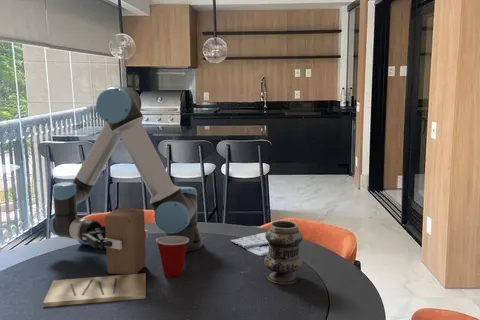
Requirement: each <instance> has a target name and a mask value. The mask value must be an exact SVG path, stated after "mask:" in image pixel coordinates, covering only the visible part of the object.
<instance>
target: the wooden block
mask: <svg viewBox="0 0 480 320" xmlns="http://www.w3.org/2000/svg"><path fill="white" fill-rule="evenodd" d="M104 226H105V231H106V238H110V239H115V240H120V241H122V249H121V250H119V249H114V248H110V247H106V248H105V249H106V268H107V269H106V270H107V271H106V272H107V273H108V274H111V275H131V274H139V272H140V271H141V270H142V269H143V268H145V266H146V263H147V262H146V261H147V260H146V258H147V256H146V255H147V254H146V239H145V230H146V229H145V226H146V225H145V210H144V209H142V208H127V207H126V208H125V207H124V208H123V207H118V208H116V209H114V210H112V211H111V212H108V213H107V214H105V216H104Z"/></svg>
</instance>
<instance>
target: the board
mask: <svg viewBox="0 0 480 320" xmlns="http://www.w3.org/2000/svg"><path fill="white" fill-rule="evenodd" d="M146 275H147V274H146V272H145V273H137V274H131V275H121V274H117V275H107V276H96V277H95V276H94V277H82V278H80V277H79V278H69V279H68V278H66V279H54V280H53V281H52V283H51V285H50V287H49V289H48V291H47V294H46V295H45V297H44V300H43V302H42V307H43V308H46V307H57V306H58V307H60V306H71V305H80V304H82V305H83V304H92V303H104V302H105V303H106V302H116V301H119V302H120V301H128V300H129V301H130V300H139V299H140V300H141V299H146V297H147V296H146V295H147V293H146V291H147V290H146V286H147V285H146V284H147V282H146V279H147V278H146Z"/></svg>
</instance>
